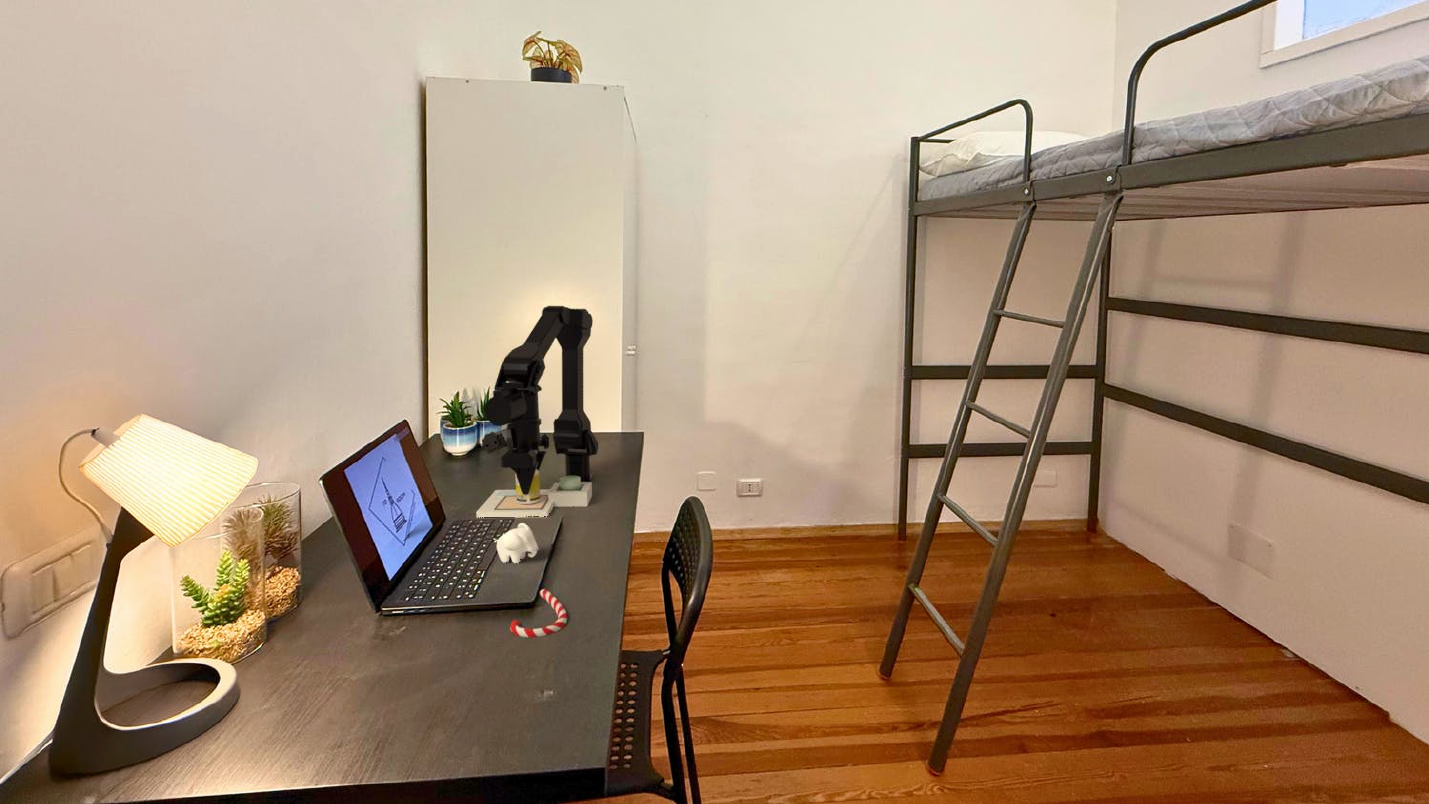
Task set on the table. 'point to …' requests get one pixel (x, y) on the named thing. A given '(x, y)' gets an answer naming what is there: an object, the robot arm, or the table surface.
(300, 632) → the table surface
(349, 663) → the table surface
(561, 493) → the button box
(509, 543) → the elephant figurine
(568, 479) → the button
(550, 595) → the candy cane
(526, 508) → the colouring board
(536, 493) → the supplement bottle
